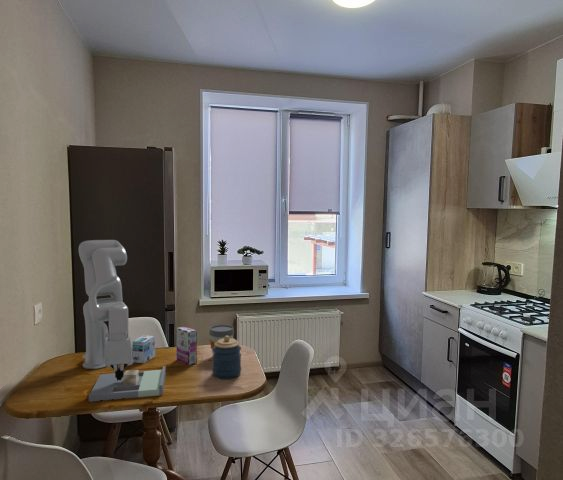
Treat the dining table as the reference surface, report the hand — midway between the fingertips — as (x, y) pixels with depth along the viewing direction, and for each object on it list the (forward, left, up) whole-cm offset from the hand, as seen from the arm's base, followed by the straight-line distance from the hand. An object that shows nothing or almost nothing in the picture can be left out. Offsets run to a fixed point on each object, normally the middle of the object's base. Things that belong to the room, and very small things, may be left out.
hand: (119, 379), depth 160 cm
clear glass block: (+4, +2, -1) cm, 5 cm away
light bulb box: (-15, +29, -4) cm, 33 cm away
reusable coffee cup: (+18, +49, -4) cm, 53 cm away
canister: (+32, +32, -4) cm, 45 cm away
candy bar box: (+6, +36, -4) cm, 37 cm away
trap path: (+3, +2, -4) cm, 5 cm away
